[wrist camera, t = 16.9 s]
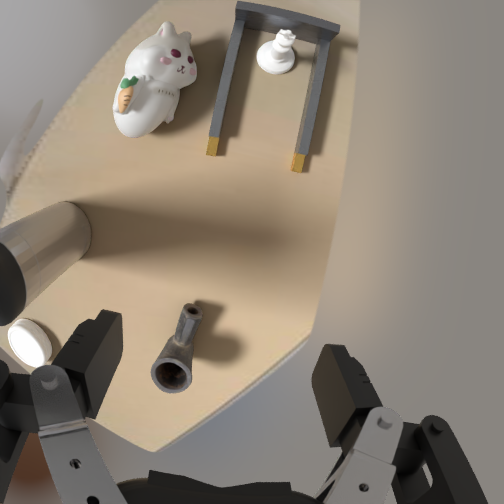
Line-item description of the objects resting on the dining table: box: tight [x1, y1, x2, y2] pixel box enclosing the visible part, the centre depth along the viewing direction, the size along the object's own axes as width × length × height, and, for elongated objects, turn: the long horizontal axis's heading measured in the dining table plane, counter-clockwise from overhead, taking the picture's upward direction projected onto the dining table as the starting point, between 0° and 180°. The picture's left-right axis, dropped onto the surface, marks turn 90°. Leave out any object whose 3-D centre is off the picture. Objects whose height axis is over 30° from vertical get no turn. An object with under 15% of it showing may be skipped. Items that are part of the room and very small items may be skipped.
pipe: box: [151, 303, 203, 393], centre depth 42 cm, size 6×13×8 cm, turn 158°
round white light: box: [8, 318, 52, 367], centre depth 44 cm, size 10×10×4 cm
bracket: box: [206, 1, 340, 173], centre depth 32 cm, size 12×20×6 cm, turn 169°
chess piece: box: [257, 29, 296, 74], centre depth 28 cm, size 5×5×10 cm
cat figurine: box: [113, 22, 197, 138], centre depth 30 cm, size 10×8×15 cm
